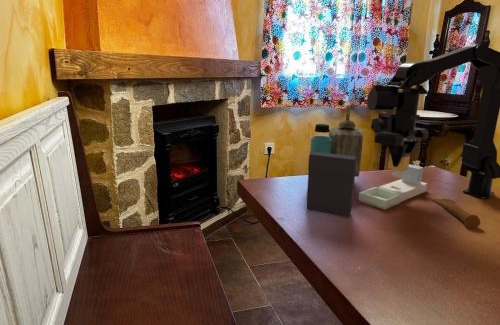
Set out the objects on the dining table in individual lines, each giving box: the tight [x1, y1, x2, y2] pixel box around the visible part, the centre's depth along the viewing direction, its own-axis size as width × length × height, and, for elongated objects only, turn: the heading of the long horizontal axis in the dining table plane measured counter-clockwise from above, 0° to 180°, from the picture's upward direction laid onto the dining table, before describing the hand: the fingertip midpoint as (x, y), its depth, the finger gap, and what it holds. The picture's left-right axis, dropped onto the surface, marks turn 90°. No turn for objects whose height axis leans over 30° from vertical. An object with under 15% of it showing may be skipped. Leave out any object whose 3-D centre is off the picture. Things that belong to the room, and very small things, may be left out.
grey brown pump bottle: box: [328, 104, 364, 178], centre depth 111 cm, size 14×9×25 cm, turn 170°
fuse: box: [401, 163, 424, 185], centre depth 107 cm, size 3×4×7 cm, turn 39°
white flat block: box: [378, 178, 428, 202], centre depth 105 cm, size 15×7×2 cm, turn 129°
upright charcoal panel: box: [305, 152, 357, 218], centre depth 89 cm, size 11×4×15 cm, turn 65°
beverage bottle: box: [307, 123, 332, 175], centre depth 105 cm, size 6×7×20 cm
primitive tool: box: [431, 198, 481, 229], centre depth 92 cm, size 19×6×4 cm, turn 176°
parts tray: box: [358, 186, 402, 211], centre depth 98 cm, size 8×8×2 cm
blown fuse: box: [387, 152, 412, 179], centre depth 100 cm, size 3×5×7 cm
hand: (398, 165), depth 101 cm, fingers closed on blown fuse, 3 cm apart
